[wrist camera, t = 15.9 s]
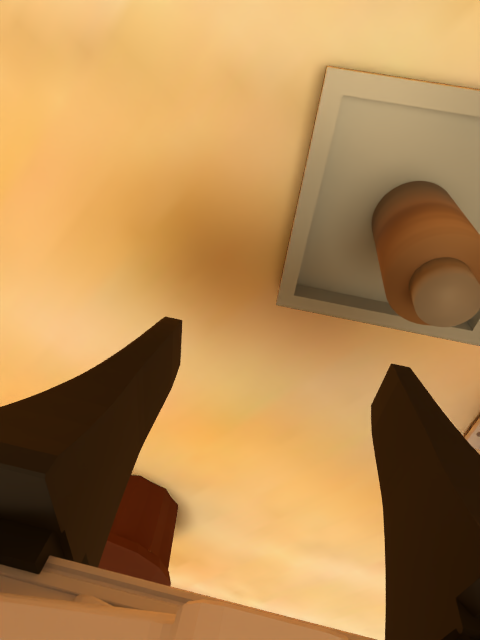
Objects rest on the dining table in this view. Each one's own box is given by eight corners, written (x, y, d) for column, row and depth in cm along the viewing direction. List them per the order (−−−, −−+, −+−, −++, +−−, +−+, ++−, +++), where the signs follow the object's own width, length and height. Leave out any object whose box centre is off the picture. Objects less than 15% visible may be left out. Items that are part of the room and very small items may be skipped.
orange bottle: (438, 259, 19) (484, 352, 13) (364, 250, 19) (376, 337, 14) (467, 185, 17) (536, 258, 11) (382, 177, 17) (406, 243, 12)
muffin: (61, 480, 40) (-6, 590, 32) (128, 450, 34) (69, 572, 26) (143, 538, 44) (102, 647, 36) (214, 518, 39) (185, 642, 31)
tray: (468, 324, 22) (480, 346, 20) (279, 286, 22) (276, 304, 21) (596, 107, 15) (629, 114, 14) (327, 65, 16) (327, 66, 14)
